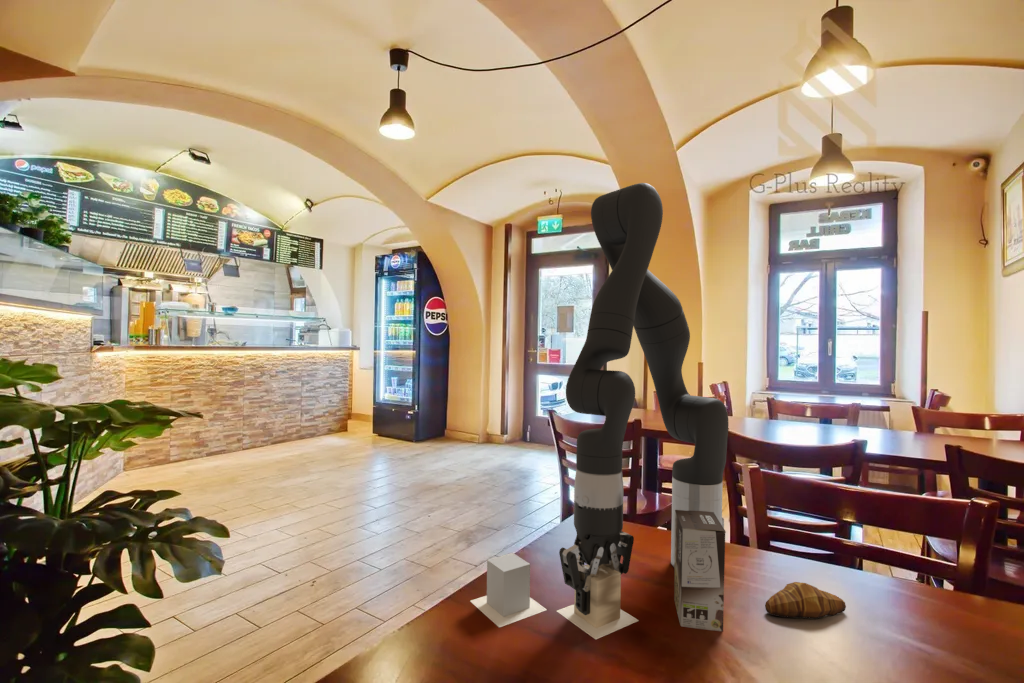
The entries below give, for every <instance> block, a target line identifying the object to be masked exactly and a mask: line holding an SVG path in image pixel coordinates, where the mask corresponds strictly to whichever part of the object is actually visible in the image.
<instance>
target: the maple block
mask: <svg viewBox="0 0 1024 683" xmlns="http://www.w3.org/2000/svg"><path fill="white" fill-rule="evenodd" d="M585 566H586V567H588V568H589V567H590V566H589V565H588V564H585ZM584 578H585V573H582V580H583V581H584ZM621 580H622V574H621V573H620V572H618V571H616V570H611V569H610V568H609V567H607V566H606V565H605V566H604V565H600V566H599V567H598V569H597V573H596V576H594V577H592V578H591V586H590V589H589V590H590V614H588V615H584V614H583V613H581V612H580V611H579V610H578V609H577V608H576V590H574V589H573V590H574V591H573V592H574V593H573V594H574V595H573V596H574V599H573V600H574V613H575V614H577V615H578V616H579V617H581V618H582V619H584V620H585V621H587V622H588V623H589V624H591V625H592V626H594V627H595V628H598V627H601V626H603V625H605V624H608V623H610V622H612V621H615V620H617V619H620V609H621V595H622V594H621V593H622V592H621V591H622V590H621V589H622V584H621V583H622V581H621Z"/></svg>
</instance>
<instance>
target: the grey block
mask: <svg viewBox="0 0 1024 683" xmlns="http://www.w3.org/2000/svg"><path fill="white" fill-rule="evenodd" d="M486 595H487V603H488V604H489V605H490V606H491V607H492V608H493V609H495V610H496V611H497V612H498V613H499V614H500V615H502V616H503V617H505V616H508V615H511V614H513V613H516V612H519V611H522V610H525V609H527V608H530V596H531V563H530V562H528V561H526V560H525V559H523V558H522V557H520V556H519V555H517V554H516V553H514V552H511V553H507V554H504V555H499V556H495V557H493V558H488V559H487V560H486Z"/></svg>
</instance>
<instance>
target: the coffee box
mask: <svg viewBox="0 0 1024 683" xmlns="http://www.w3.org/2000/svg"><path fill="white" fill-rule="evenodd" d="M726 533H727V531H726V529H725V527H724V528H723V526H722V525H721V523H720V522H719V520H718V518H717V517H716V515H715V514H714V512H708V511H690V510H689V511H684V510H675V557H674V567H673V568H674V569H673V570H674V571H673V572H674V574H673V576H674V578H673V579H674V581H673V583H674V584H673V586H674V587H673V589H674V590H673V592H674V594H673V599H674V604H675V608H676V613H677V617H678V621H679V625H680V627H684V628H690V629H697V630H707V631H716V632H723V631H724V615H725V613H724V609H725V608H724V606H725V601H724V600H725V569H726V568H725V564H726V563H725V562H726V558H725V557H726Z"/></svg>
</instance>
